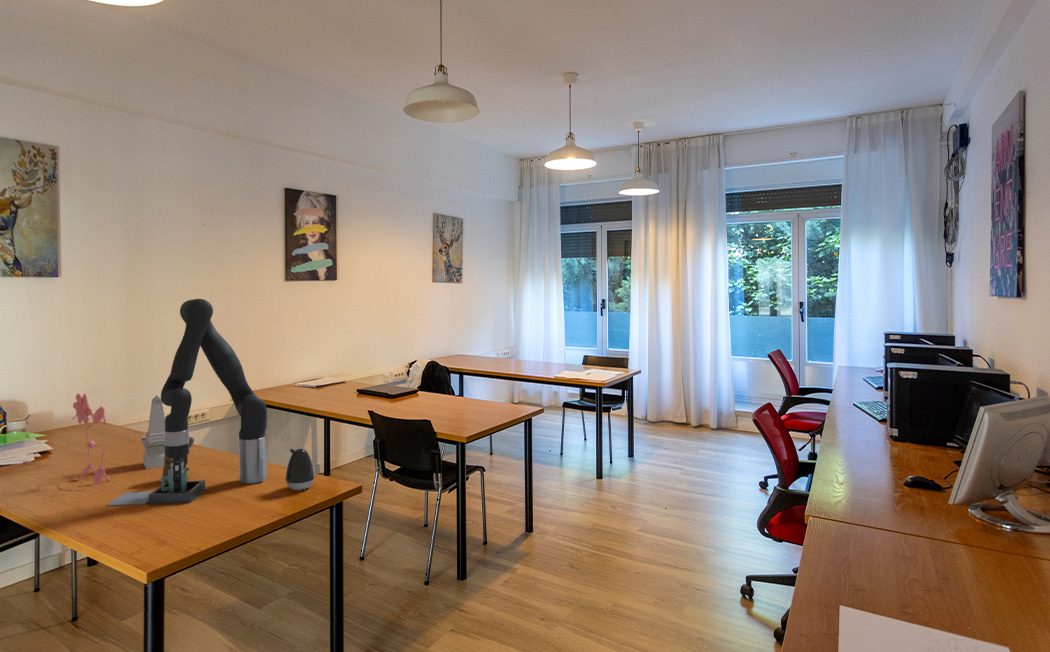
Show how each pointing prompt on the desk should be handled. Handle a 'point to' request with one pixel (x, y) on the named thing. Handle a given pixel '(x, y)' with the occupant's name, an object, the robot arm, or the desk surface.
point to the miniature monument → (155, 436)
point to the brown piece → (168, 460)
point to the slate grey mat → (131, 499)
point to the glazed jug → (171, 483)
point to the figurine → (83, 413)
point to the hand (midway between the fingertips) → (177, 488)
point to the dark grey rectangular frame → (177, 494)
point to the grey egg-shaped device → (299, 470)
